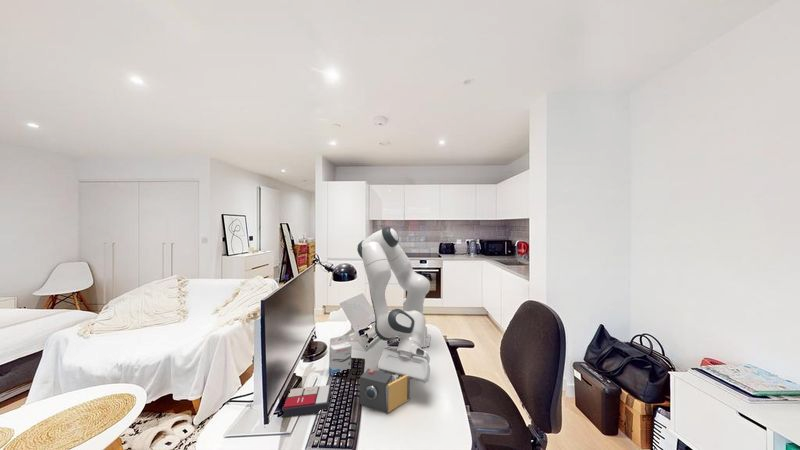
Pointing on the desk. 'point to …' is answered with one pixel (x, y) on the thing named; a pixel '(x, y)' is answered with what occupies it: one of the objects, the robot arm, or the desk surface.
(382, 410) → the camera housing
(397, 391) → the side door
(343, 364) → the ink box
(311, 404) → the calculator
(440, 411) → the desk surface
